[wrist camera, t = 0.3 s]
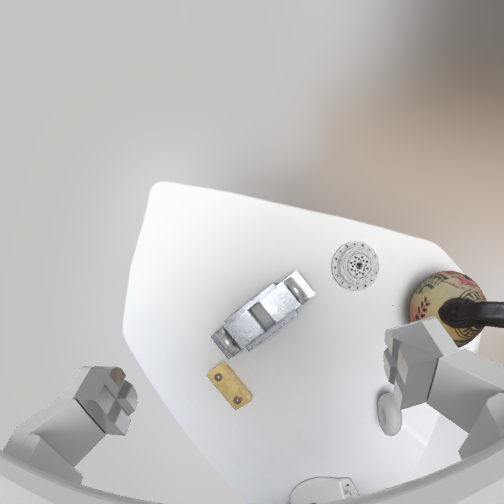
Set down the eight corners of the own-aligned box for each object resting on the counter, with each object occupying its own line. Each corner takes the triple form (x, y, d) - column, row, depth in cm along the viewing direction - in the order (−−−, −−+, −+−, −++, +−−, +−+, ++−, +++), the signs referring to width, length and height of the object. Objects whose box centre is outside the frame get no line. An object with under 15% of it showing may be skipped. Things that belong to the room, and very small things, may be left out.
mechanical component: (339, 235, 60) (324, 281, 60) (343, 232, 56) (327, 282, 55) (383, 251, 58) (368, 296, 58) (389, 249, 54) (374, 298, 54)
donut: (390, 421, 55) (403, 441, 45) (376, 424, 55) (387, 445, 45) (389, 384, 56) (404, 401, 46) (375, 388, 56) (387, 406, 46)
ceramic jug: (463, 280, 55) (552, 281, 25) (445, 346, 54) (526, 384, 25) (403, 261, 57) (482, 250, 28) (383, 332, 57) (450, 375, 27)
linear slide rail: (316, 296, 59) (318, 297, 55) (233, 359, 61) (228, 365, 56) (293, 267, 61) (293, 266, 56) (211, 331, 62) (205, 335, 57)
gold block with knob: (224, 360, 61) (220, 366, 57) (252, 395, 60) (250, 402, 56) (210, 370, 62) (205, 375, 58) (238, 403, 60) (235, 411, 56)
